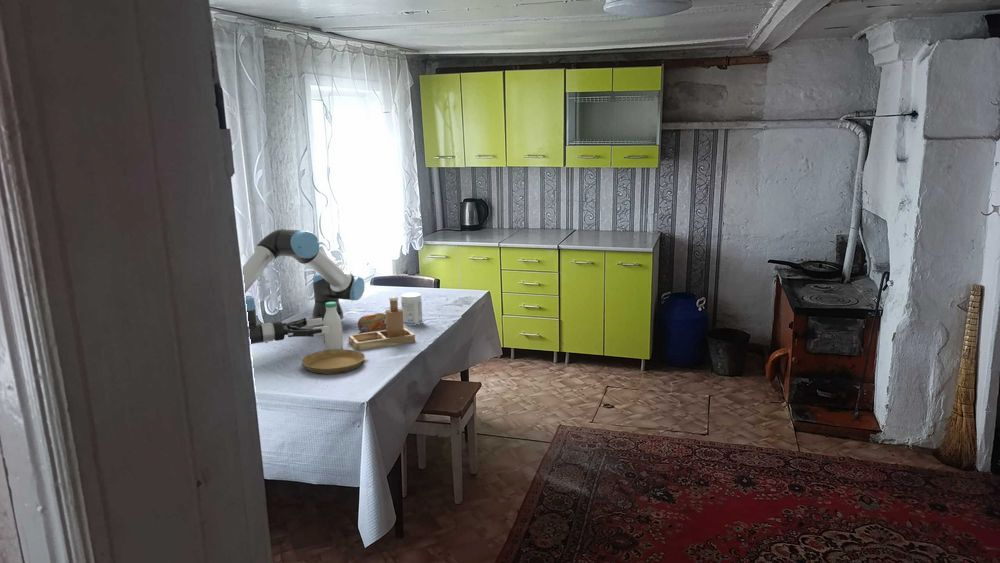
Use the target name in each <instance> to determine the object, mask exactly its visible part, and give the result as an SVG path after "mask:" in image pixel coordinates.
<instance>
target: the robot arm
mask: <svg viewBox="0 0 1000 563" xmlns="http://www.w3.org/2000/svg"><path fill="white" fill-rule="evenodd" d="M279 257H290V258H293V259H294V260H295V261H296V262H298V263H299V264H302V265H304V264H306V265H307V266H308V267H309V268H311V269H312V270H313V271H315V274H314V275H313V279H312V280H313V282H312V285H313V298H314V305H313V310H312V312H311V318H310V319H307V318H305V317H303V318H300V319H296V320H293V321H288V322H282V321H276V322H275V321H274V322H272V323H271V322H267V323H266V322H265V323H259V324H258V323H257V322H258V321H257V311H256V310H257V309H256V307H257V306H256V303H255V298H254V297H253V295H245V296H246V304H247V312H248V321H249V329H250V339H251V344H250V345H255V344H262V343H265V344H268V343H269V342H273V341H276V342H278V341H283V340H284V339H285V336H287V337H288V338H294V337H295V338H296V337H298V338H299V337H309V338H310V337H311V338H314V337H315V335H319V334H323V333H329V332H330V328H329V326H323V319H324V316H325V313H326V307H325V303H327V302H336V304H337V308H336V310H337V313H338V315H339V316H340V319H341V320H342V319H343V318H344V311H343V309H342V306H341V303H340V300H348V301H351V302H352V301H353V302H354V301H359V300H360V299H361V298H362V297H363V295H364V292H365V286H366V285H365V281H364V278H363V277H361V276H358V275H357V276H355V275H353V274H352V273H351V272H350V271H349V270H346V269H342V268H341V267H339V266H338V265H337V264H336V263H335V262H334V261H333V260H332V259H331V258H329V256H327V255H326V254H325V253H324V252H323V251H322V250H321V249H320V242H319V239H318V236H317V235H316V234H315V233H314V232H312V231H309V230H305V229H300V230H299V229H285V228H282V229H281V228H280V229H277V230H274V231H272V232H270V233H269V234H267V235H266V236H265V237H263V238H262V239H261V240H260V241H259V243H258V244H256V246H255V247H254V252H253V253H252V255H251V256H250V257H249V258H248V259H247V261H246V262H245V264H244V265H243V266H242V267H243V275H244V283H245V294H247V293H248V291H249V290H250V288H251V287H252V285H254V283H255V282H256V280H258V278H259V276H261V275H262V273H263V271H264V270H265V269H266V268H267V267H268V266H269V264H270V263H274V262H275V261H276V259H278V258H279ZM321 325H322V326H321ZM313 326H316V327H313ZM307 327H310V328H307ZM311 327H312V328H311Z"/></svg>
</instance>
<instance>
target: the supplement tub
mask: <svg viewBox="0 0 1000 563" xmlns="http://www.w3.org/2000/svg"><path fill="white" fill-rule="evenodd" d="M400 297H401V298H400V300H401V301H400V303H401V305H400V306H401V309H402V310H403V321H404V326H417V325H416V324H418V325H421V324H423V307H422V306H423V302H422V294H421V293H420V292H405V293H402V294H401V296H400ZM420 323H421V324H420Z"/></svg>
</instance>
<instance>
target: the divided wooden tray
mask: <svg viewBox="0 0 1000 563" xmlns="http://www.w3.org/2000/svg"><path fill="white" fill-rule="evenodd" d="M415 342H416V334H415V333H413V332H412V331H410V330H409V329H408V328H406V326H404V336H399V337H392V338H387V336H386V329H383V330H382V329H381V330H374V331H369V332H364V333H362V332H360V333H356V334H355V333H354V334H348V343H349V344H350V345H351V346H352V347H353V348H354V349H355V351H363V350H370V349H376V348H377V349H378V348H382V347H388V346H389V347H390V346H397V345H402V344H408V343H409V344H410V343H415Z"/></svg>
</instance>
